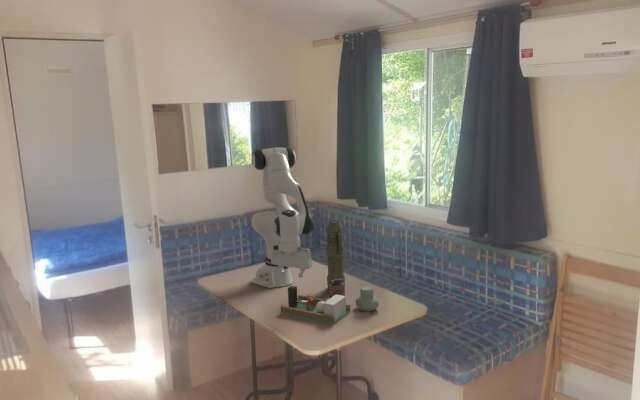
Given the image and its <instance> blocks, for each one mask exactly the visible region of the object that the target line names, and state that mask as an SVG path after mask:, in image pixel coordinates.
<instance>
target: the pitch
mask: <svg viewBox="0 0 640 400" xmlns="http://www.w3.org/2000/svg"><path fill="white" fill-rule="evenodd" d="M314 298H315V308H314V309H312V310H311V311H306V304H300V303H298V305H297V306H296V307H289V306H284V305H282V306H280V315H283V316H288V317H293V318H297V319H301V320H307V321H311V322H312V321H313V322H315V323H316V322H317V323H322V324H328V325H332V326H335V325H336V324H337V323H338V322H340V321H341V320H342V319H343V318H344V317H346V316H347V315H349V313H351V303H347V296H346V295H345V296H342V295H334V296H333V297H331V298H330V299H329V298H328V299H323V298H317V297H314ZM297 299H298V300H304V301H308V299H307V295H300V294H299V295H297ZM320 301H324V303H323V305H324V312H322V313H321V312H319V311H318V310H317V309H316V305H317V303H318V302H320Z"/></svg>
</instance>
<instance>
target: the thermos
mask: <svg viewBox="0 0 640 400" xmlns="http://www.w3.org/2000/svg"><path fill="white" fill-rule="evenodd" d="M326 238H327V240H326V241H327V243H326V249H325V250H326V252H325V253H326V257H327V258H326V259H327V276H326V285H327V291H328V292H329V285H330V284H331V280H334V279H337V280H338V279H343V280H344V282H341V283H345V284H346V282H345V281H346V276H345V274H344V257H345V246H344V242H343V226H342V223H341V221H338V220H331V221H329V222H328V223H327V227H326ZM338 283H339V282H338Z"/></svg>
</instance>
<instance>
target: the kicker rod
mask: <svg viewBox="0 0 640 400" xmlns="http://www.w3.org/2000/svg"><path fill="white" fill-rule="evenodd" d="M306 296H307V299H308V301H304V300H298V286H297V285H296V286H295V285H290V286H288V287H287V297H288V298H287V300H288V302H287V303H288V307H296V306H297V305H298V303H300V304H306V311H311V310H312V309H314V308H315V298H316V297H313V296H312V295H311V294H310V293H309V294H308V295H306Z"/></svg>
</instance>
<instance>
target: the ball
mask: <svg viewBox="0 0 640 400" xmlns="http://www.w3.org/2000/svg"><path fill="white" fill-rule="evenodd" d="M323 303H324V301H320V302H318V303H317V305H316V309H317V310H318V311H319V312H321V313H322V312H324V305H323Z"/></svg>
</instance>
